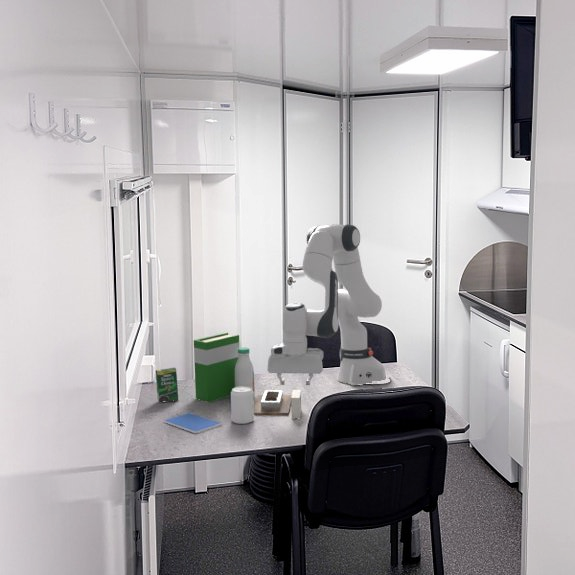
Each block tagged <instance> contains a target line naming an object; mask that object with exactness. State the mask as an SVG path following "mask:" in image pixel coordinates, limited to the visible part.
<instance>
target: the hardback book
mask: <svg viewBox="0 0 575 575" xmlns="http://www.w3.org/2000/svg"><path fill="white" fill-rule="evenodd" d="M238 348H241V346H240V335H239V334H234V335H230V334H229V332H223V333H219V334H215V335H210V336H206V337H201V338H197V339H193V359H194V361H193V362H194V382H195V384H194V385H195V399H196V398H197V399H196V400H198V399H200V400H199V401H202V400H203V401H202V402H205V401H206V402H205V403H211V402H214V401H218V400H221V399H223V398H227V397H231V392H232V389H233V388H235V365H236V363H237V360H238V357H239V354H238Z"/></svg>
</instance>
